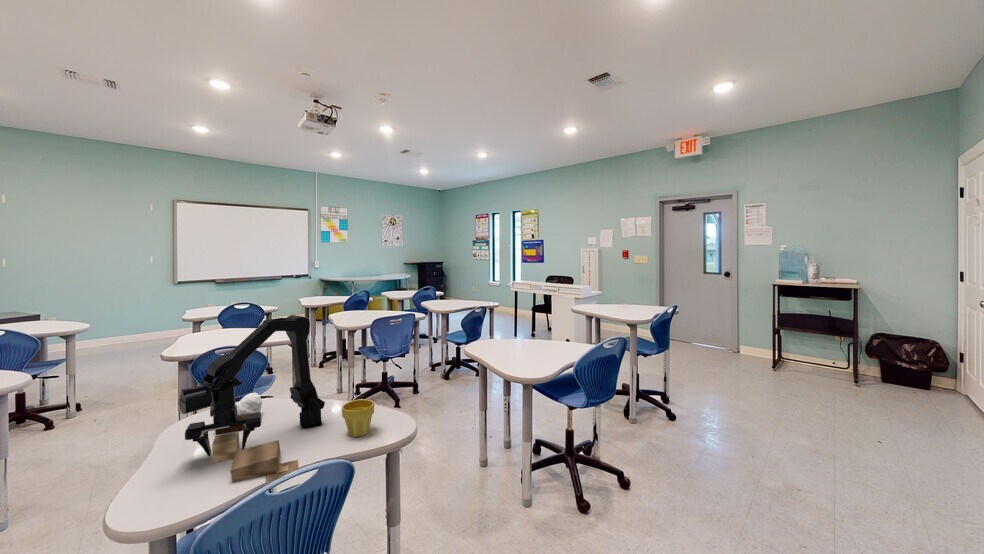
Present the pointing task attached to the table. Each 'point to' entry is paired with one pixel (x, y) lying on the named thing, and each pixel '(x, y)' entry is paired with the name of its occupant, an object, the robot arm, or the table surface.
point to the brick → (232, 429)
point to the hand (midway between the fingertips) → (226, 452)
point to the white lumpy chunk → (249, 404)
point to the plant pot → (358, 416)
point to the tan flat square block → (256, 461)
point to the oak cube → (225, 446)
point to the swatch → (283, 470)
